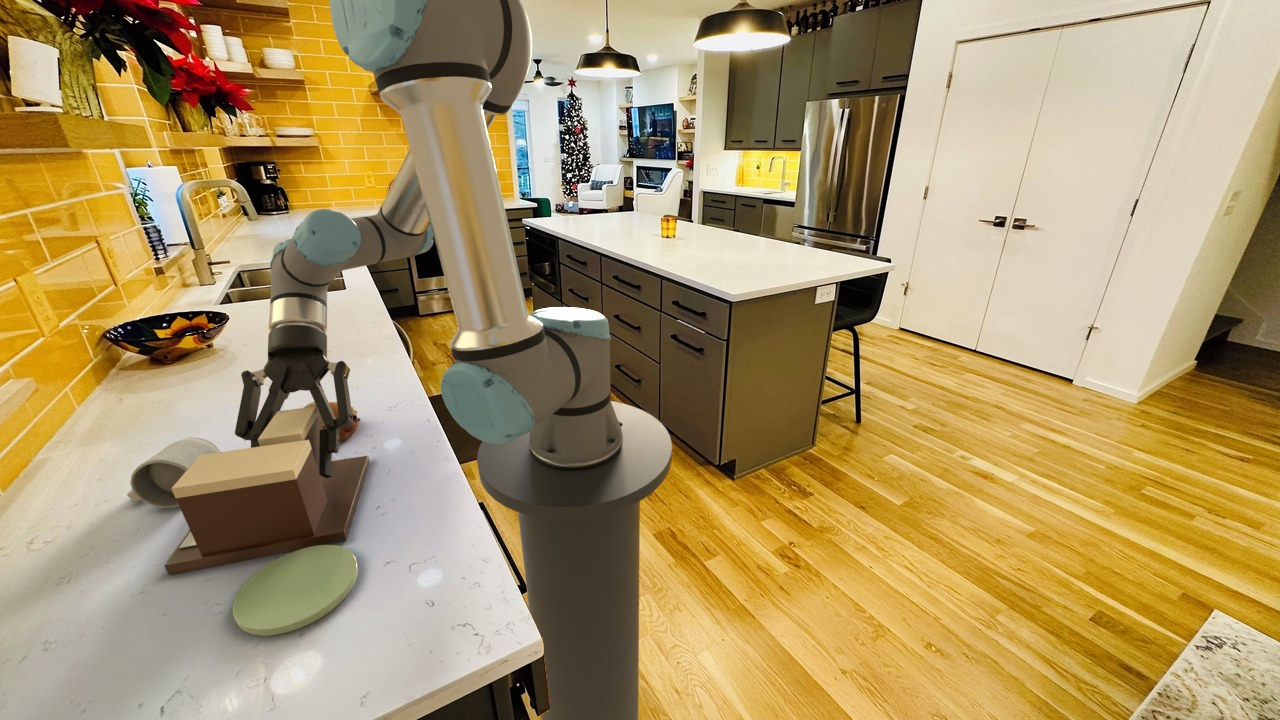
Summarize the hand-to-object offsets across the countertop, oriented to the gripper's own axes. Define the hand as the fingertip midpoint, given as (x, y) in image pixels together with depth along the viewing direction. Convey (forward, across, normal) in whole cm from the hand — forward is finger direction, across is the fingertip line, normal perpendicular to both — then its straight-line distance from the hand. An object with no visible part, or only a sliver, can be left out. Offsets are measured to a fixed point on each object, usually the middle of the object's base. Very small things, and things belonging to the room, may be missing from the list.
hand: (295, 480), depth 70 cm
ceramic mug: (-3, +18, -9) cm, 20 cm away
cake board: (+4, +2, -2) cm, 5 cm away
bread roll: (-11, +1, -17) cm, 20 cm away
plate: (+15, -4, +9) cm, 18 cm away
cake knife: (+2, +10, -1) cm, 10 cm away
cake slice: (-1, 0, -4) cm, 4 cm away
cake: (+6, +2, +2) cm, 7 cm away
